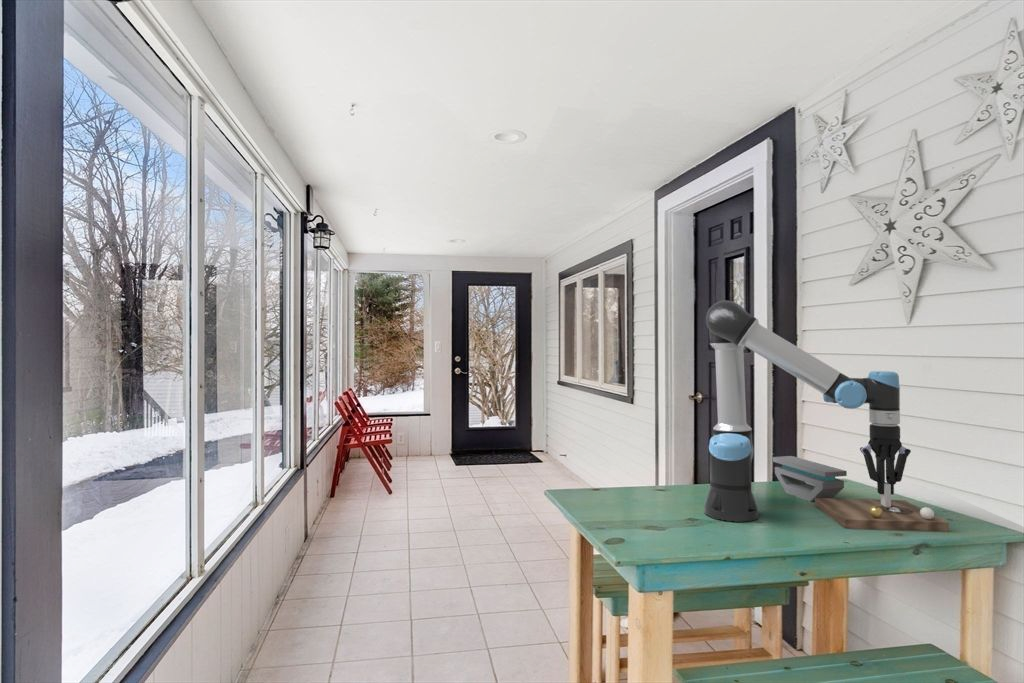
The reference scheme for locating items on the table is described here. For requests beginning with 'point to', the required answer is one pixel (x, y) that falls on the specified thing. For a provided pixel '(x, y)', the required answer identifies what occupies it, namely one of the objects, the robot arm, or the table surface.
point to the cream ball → (927, 513)
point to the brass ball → (875, 511)
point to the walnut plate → (858, 517)
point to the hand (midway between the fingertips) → (885, 505)
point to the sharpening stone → (808, 478)
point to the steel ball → (894, 509)
